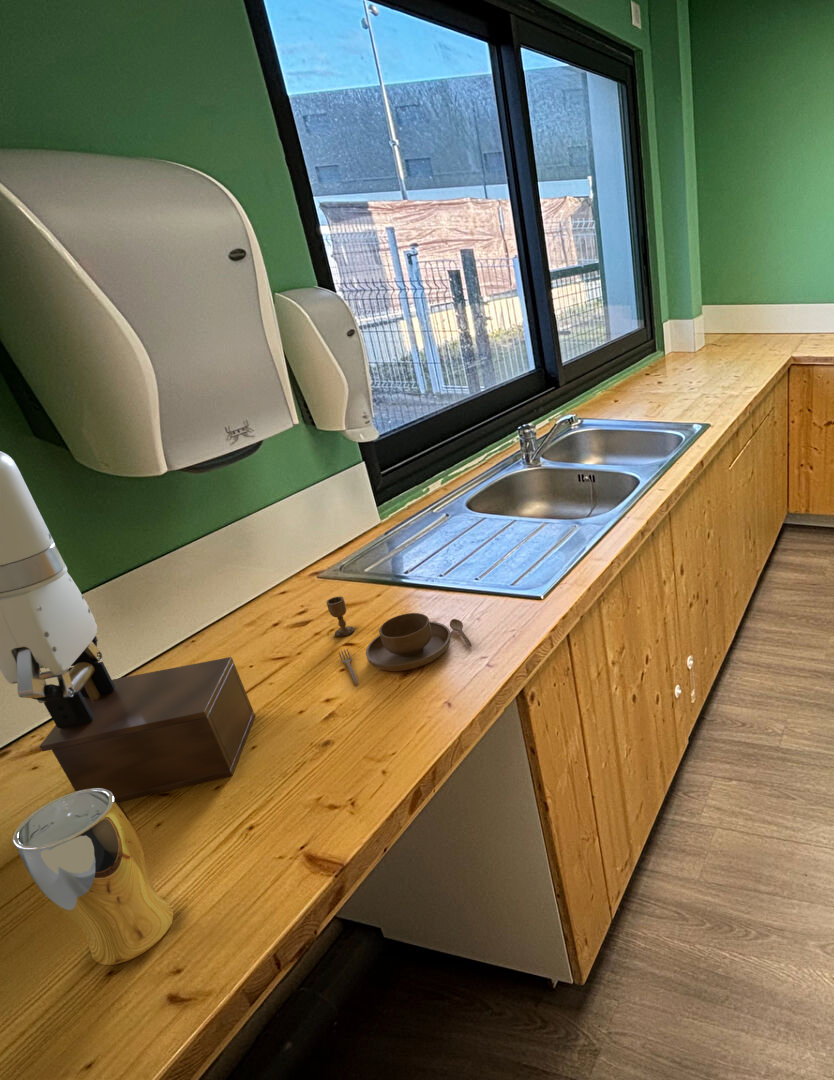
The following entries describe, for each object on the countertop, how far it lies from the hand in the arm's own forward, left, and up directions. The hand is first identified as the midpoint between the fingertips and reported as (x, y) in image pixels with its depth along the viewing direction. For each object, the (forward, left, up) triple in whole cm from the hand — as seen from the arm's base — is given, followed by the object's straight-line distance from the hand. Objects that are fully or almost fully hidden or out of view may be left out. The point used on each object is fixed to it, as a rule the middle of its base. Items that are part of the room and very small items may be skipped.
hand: (87, 707), depth 80 cm
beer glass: (+10, -26, -10) cm, 30 cm away
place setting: (+31, +18, -10) cm, 37 cm away
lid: (+5, 0, -1) cm, 5 cm away
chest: (+6, 0, -10) cm, 11 cm away
